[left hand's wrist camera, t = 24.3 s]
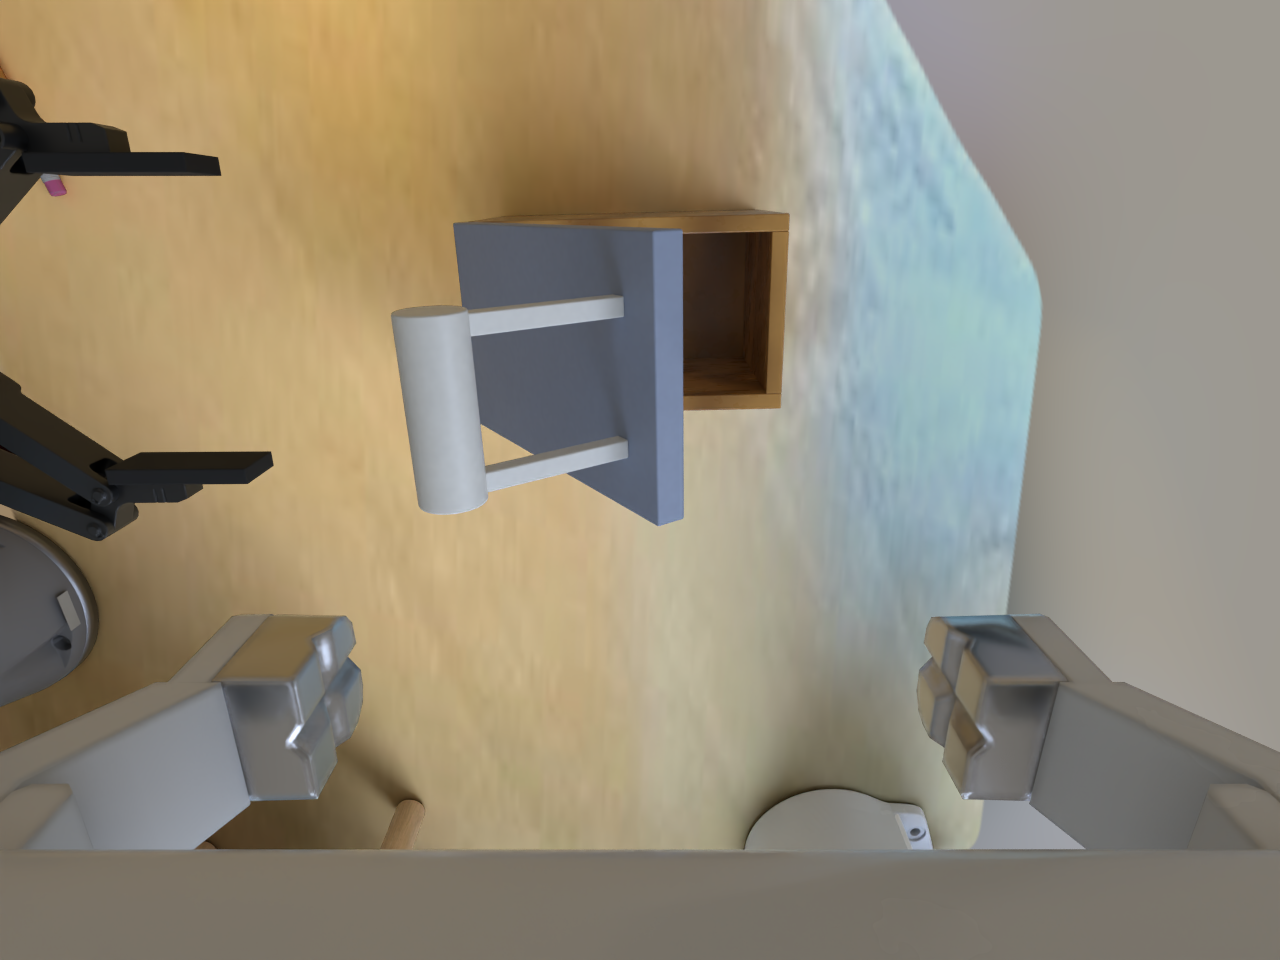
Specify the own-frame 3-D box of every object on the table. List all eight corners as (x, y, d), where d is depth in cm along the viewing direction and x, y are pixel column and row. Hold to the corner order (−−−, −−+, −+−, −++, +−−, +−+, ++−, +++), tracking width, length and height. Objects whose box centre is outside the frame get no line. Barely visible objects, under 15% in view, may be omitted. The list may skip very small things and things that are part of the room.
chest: (757, 209, 47) (789, 213, 37) (752, 366, 50) (780, 408, 40) (504, 216, 47) (466, 221, 37) (517, 371, 50) (487, 415, 40)
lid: (683, 228, 23) (405, 244, 19) (684, 518, 27) (451, 591, 22) (475, 221, 36) (282, 230, 32) (494, 416, 40) (324, 449, 35)
